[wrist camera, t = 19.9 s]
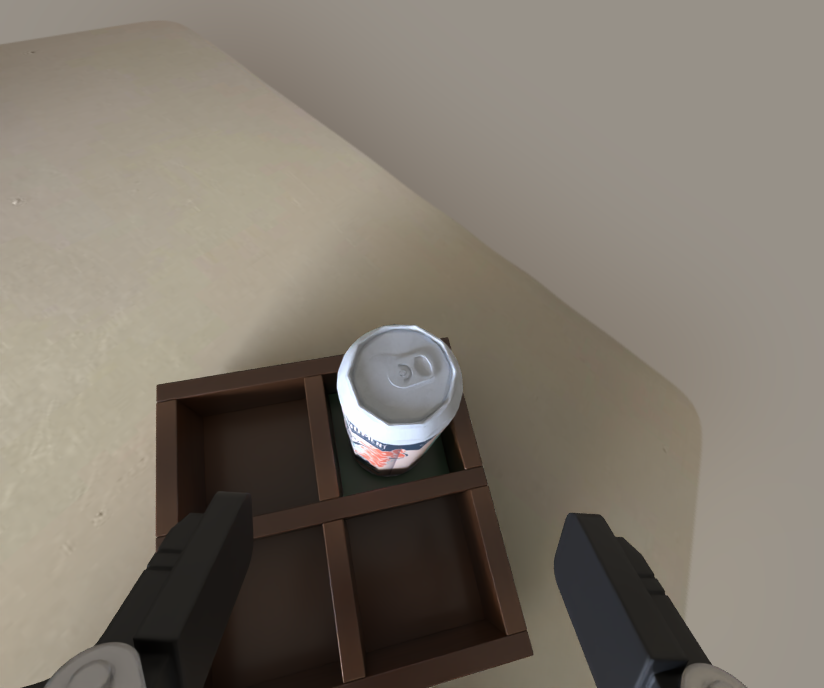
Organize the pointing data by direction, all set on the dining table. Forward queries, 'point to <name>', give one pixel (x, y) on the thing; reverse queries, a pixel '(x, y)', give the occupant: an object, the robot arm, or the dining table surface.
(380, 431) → the beer can
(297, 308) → the dining table surface
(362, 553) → the compartment tray
